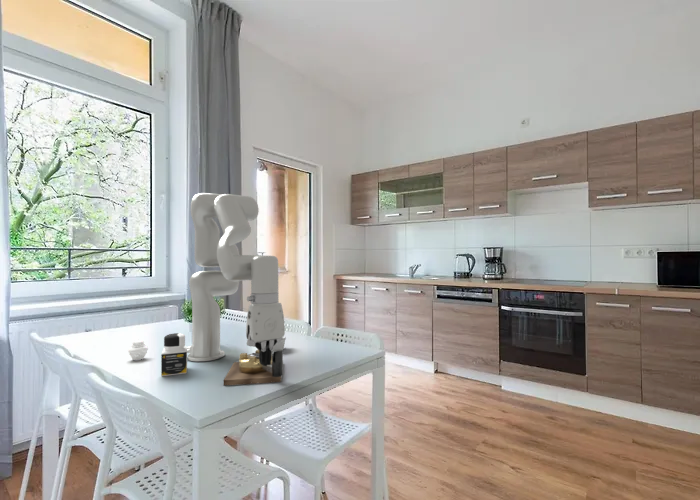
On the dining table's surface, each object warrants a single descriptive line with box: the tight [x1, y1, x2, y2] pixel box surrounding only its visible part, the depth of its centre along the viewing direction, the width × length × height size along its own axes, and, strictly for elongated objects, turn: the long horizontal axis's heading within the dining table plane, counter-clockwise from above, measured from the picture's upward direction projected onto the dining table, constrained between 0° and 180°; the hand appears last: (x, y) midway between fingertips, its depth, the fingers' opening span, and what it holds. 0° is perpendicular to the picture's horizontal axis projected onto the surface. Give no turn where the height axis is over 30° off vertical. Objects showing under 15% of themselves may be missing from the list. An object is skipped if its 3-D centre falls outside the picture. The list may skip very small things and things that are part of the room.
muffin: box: [127, 339, 149, 361], centre depth 129 cm, size 6×6×7 cm
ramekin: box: [271, 335, 287, 354], centre depth 139 cm, size 11×11×5 cm
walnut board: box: [223, 361, 282, 386], centre depth 111 cm, size 16×18×2 cm
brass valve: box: [238, 349, 284, 377], centre depth 108 cm, size 18×10×7 cm, turn 45°
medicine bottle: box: [160, 332, 188, 377], centre depth 114 cm, size 7×7×12 cm
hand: (265, 364), depth 100 cm, fingers closed
